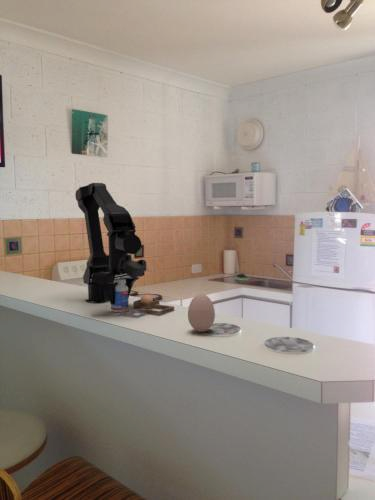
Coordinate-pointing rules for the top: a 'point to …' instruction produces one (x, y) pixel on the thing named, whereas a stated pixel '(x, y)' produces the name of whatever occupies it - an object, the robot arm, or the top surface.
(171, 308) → the walnut socket
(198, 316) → the egg
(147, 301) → the terracotta ball
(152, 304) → the walnut frame
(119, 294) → the pill bottle
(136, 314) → the slate card
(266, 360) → the top surface
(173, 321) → the top surface
